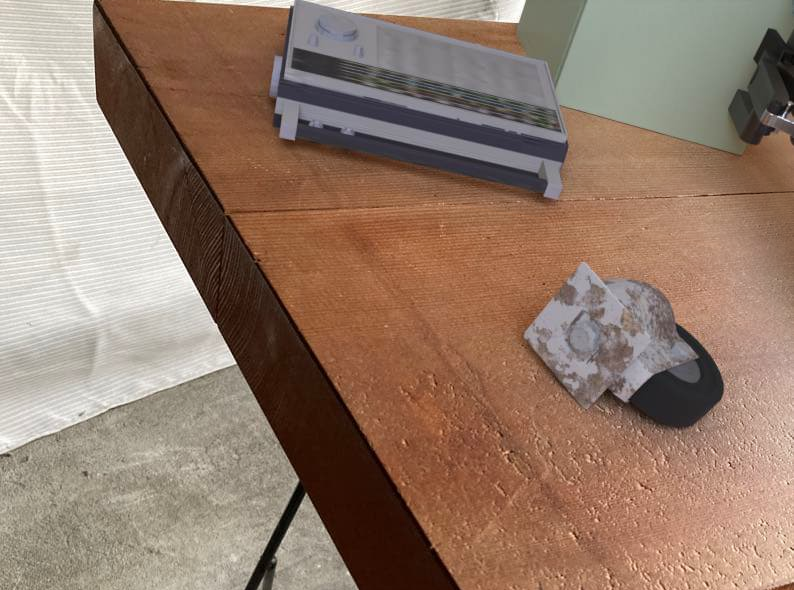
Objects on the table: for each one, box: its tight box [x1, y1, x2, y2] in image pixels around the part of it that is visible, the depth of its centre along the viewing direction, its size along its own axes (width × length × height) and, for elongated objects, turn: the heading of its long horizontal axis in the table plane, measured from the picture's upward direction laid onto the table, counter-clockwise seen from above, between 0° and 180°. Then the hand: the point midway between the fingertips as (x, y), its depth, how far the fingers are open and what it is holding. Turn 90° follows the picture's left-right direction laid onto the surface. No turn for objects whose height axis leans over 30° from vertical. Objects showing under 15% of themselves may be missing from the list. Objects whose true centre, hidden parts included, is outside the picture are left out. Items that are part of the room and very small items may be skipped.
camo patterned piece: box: [523, 261, 725, 429], centre depth 64 cm, size 7×11×10 cm
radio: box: [268, 0, 570, 200], centre depth 83 cm, size 24×5×20 cm
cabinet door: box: [554, 0, 794, 156], centre depth 86 cm, size 8×20×22 cm, turn 86°
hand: (778, 48), depth 87 cm, fingers closed on cabinet door, 2 cm apart
